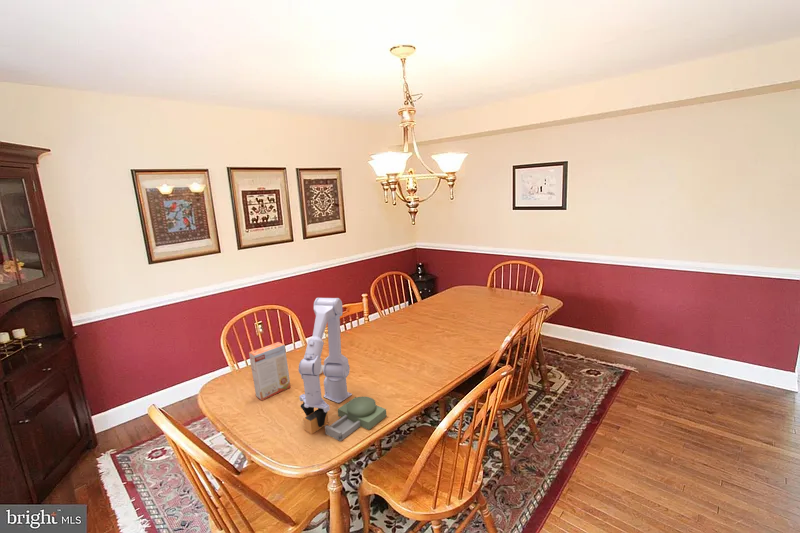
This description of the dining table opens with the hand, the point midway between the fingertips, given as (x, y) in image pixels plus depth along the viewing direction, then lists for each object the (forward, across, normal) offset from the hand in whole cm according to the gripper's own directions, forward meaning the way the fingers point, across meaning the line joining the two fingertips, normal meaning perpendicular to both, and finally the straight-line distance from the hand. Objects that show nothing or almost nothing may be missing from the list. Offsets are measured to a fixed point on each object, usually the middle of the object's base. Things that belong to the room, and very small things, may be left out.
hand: (316, 423), depth 142 cm
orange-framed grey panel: (+2, 0, 0) cm, 2 cm away
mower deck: (+1, +10, +9) cm, 14 cm away
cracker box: (+2, -36, +6) cm, 37 cm away
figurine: (+2, -33, +27) cm, 43 cm away
